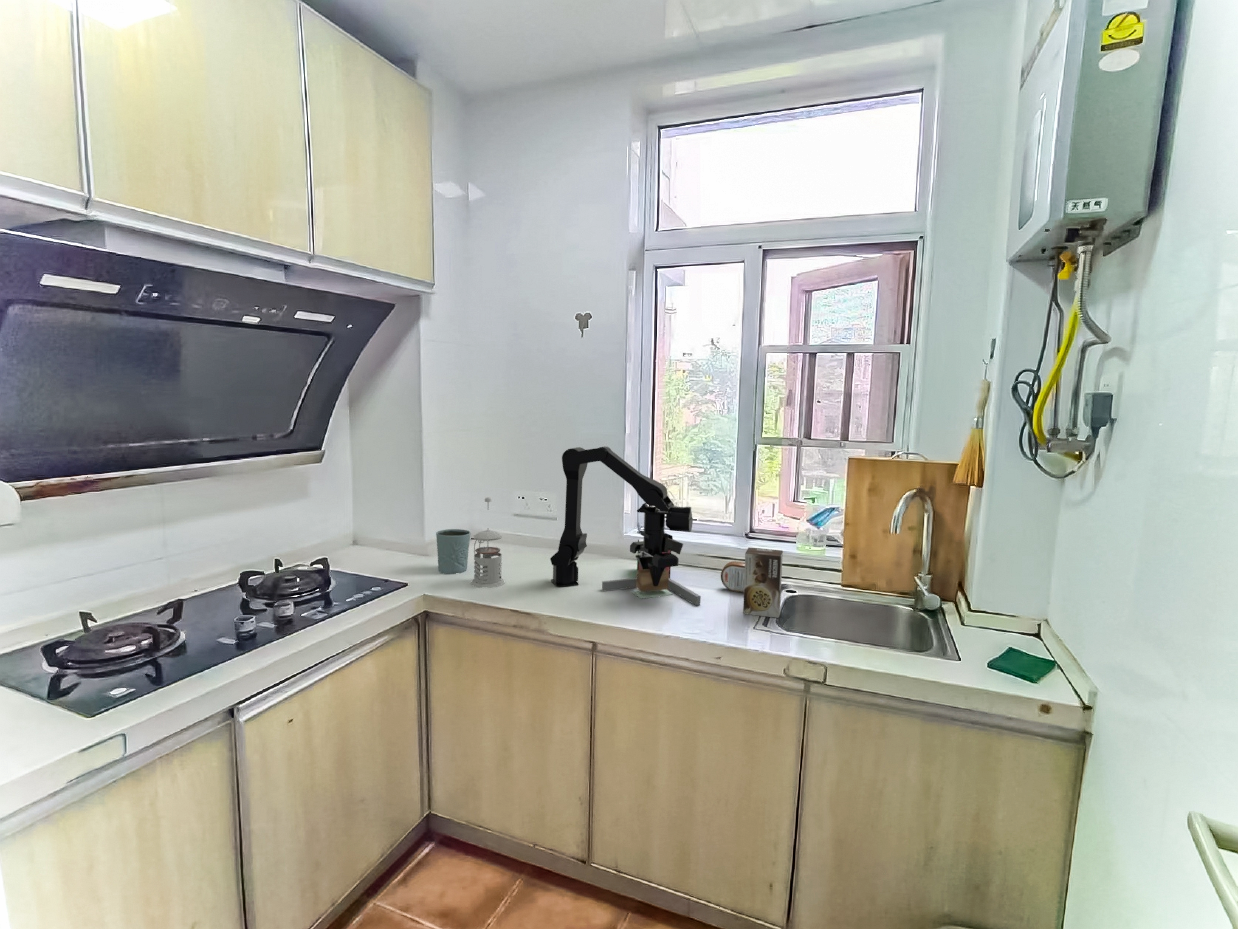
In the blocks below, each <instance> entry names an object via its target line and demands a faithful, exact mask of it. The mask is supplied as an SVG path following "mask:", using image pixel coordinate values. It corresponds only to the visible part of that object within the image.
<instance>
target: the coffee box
mask: <svg viewBox="0 0 1238 929" xmlns="http://www.w3.org/2000/svg"><path fill="white" fill-rule="evenodd" d="M783 552H784V551H783V550H782V549H781V550H780V549H769V548H758V547H748V548H747V549H746V551H745V553H744V563H745V578H744V593H743V605H742V606H743V610H742V614H745V615H753V616H760V617H768V618H769V617H770V618H776V619H777V618H778V619H779V618H780V614H781V599H782V597H781V596H782V579H783V578H782V575H783V574H782V573H783Z"/></svg>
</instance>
